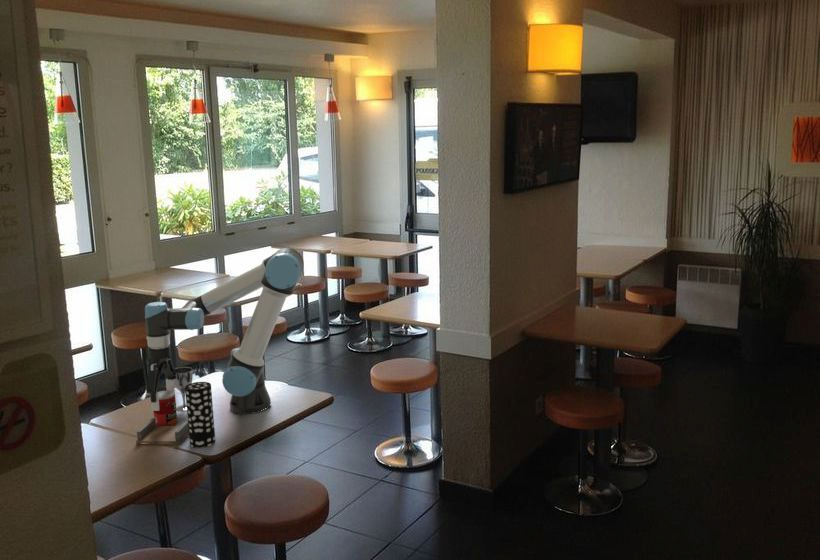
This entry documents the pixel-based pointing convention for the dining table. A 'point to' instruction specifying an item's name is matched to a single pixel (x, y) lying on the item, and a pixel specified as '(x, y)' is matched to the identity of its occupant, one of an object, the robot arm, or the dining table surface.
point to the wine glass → (183, 383)
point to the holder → (162, 433)
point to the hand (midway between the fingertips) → (163, 403)
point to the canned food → (166, 409)
